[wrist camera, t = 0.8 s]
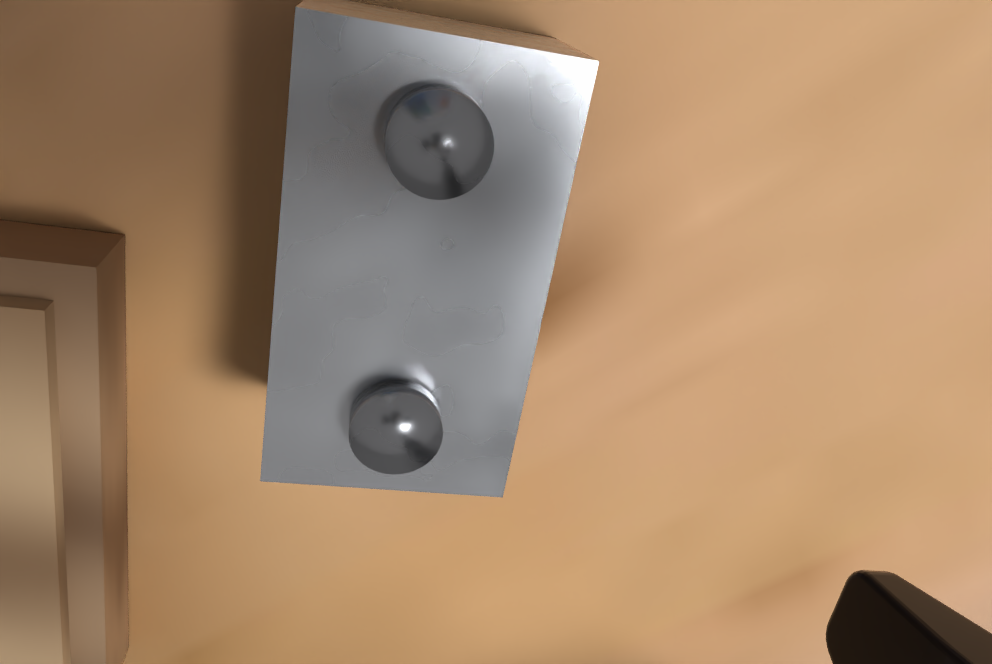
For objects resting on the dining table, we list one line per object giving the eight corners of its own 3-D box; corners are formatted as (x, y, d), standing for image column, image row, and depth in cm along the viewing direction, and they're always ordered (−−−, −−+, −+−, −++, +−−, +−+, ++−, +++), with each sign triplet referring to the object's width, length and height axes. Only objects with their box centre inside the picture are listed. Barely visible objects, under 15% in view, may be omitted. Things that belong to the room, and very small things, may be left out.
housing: (480, 402, 21) (506, 514, 17) (280, 384, 20) (256, 499, 16) (552, 36, 17) (608, 65, 13) (312, -8, 16) (291, 9, 12)
